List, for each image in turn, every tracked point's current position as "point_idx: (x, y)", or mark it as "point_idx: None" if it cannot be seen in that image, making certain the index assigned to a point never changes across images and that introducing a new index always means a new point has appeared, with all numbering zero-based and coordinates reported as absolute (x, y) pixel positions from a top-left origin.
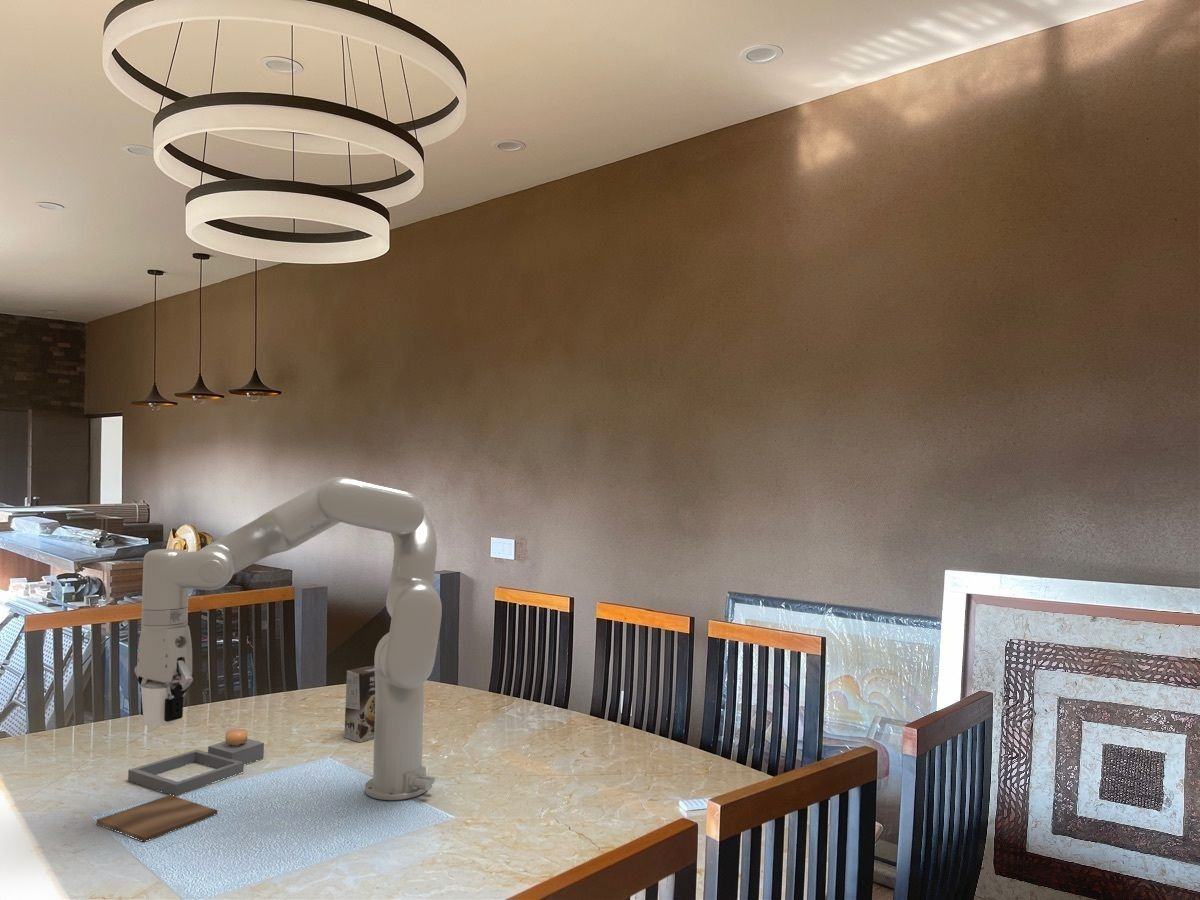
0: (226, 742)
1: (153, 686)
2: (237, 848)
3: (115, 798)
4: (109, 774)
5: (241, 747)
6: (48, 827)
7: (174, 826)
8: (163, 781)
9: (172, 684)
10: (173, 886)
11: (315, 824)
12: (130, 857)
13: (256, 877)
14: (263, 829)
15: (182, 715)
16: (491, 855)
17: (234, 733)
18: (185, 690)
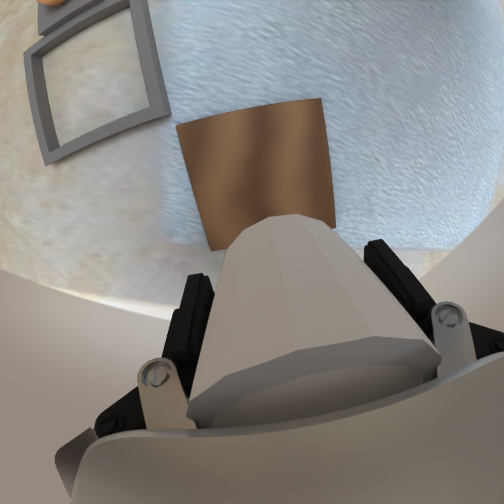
0: (57, 3)
1: None
2: (440, 155)
3: (116, 195)
4: (23, 178)
5: None
6: (179, 291)
7: (331, 179)
8: (128, 127)
9: (390, 392)
10: (448, 247)
11: (447, 50)
12: (361, 252)
13: (489, 187)
14: (420, 94)
15: (382, 240)
16: None
17: None
18: (491, 335)
